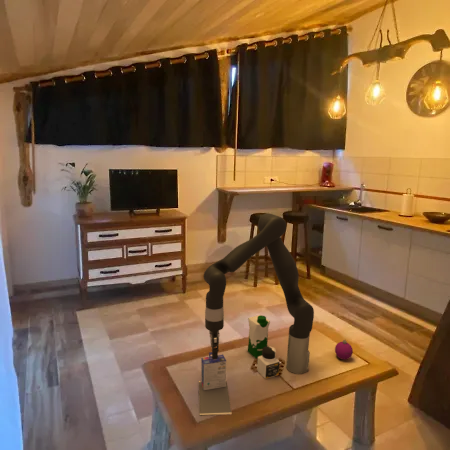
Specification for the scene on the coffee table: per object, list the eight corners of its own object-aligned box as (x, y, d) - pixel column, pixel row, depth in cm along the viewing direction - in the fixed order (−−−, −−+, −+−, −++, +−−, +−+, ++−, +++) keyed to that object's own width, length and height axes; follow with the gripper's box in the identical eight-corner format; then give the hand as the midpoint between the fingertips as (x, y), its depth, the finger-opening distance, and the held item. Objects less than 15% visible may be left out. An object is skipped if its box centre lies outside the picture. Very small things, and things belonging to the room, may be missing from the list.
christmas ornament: (339, 351, 184) (341, 333, 182) (354, 358, 179) (357, 339, 177) (331, 357, 179) (332, 339, 176) (346, 365, 173) (348, 345, 171)
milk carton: (255, 360, 175) (257, 321, 170) (244, 351, 182) (246, 313, 178) (270, 355, 179) (272, 317, 175) (258, 346, 187) (260, 309, 182)
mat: (226, 381, 159) (226, 380, 159) (231, 414, 139) (231, 413, 139) (198, 382, 158) (198, 381, 158) (199, 415, 138) (199, 414, 138)
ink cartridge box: (222, 379, 159) (223, 348, 156) (226, 387, 154) (227, 356, 151) (200, 382, 157) (200, 352, 153) (203, 391, 151) (204, 359, 148)
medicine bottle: (265, 379, 161) (267, 354, 158) (256, 370, 167) (258, 346, 164) (278, 375, 164) (280, 350, 161) (269, 366, 170) (271, 343, 167)
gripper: (225, 324, 142) (224, 362, 145) (222, 308, 155) (221, 343, 159) (205, 325, 141) (205, 363, 145) (204, 308, 155) (204, 343, 158)
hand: (214, 352), depth 152 cm, fingers open, 8 cm apart
